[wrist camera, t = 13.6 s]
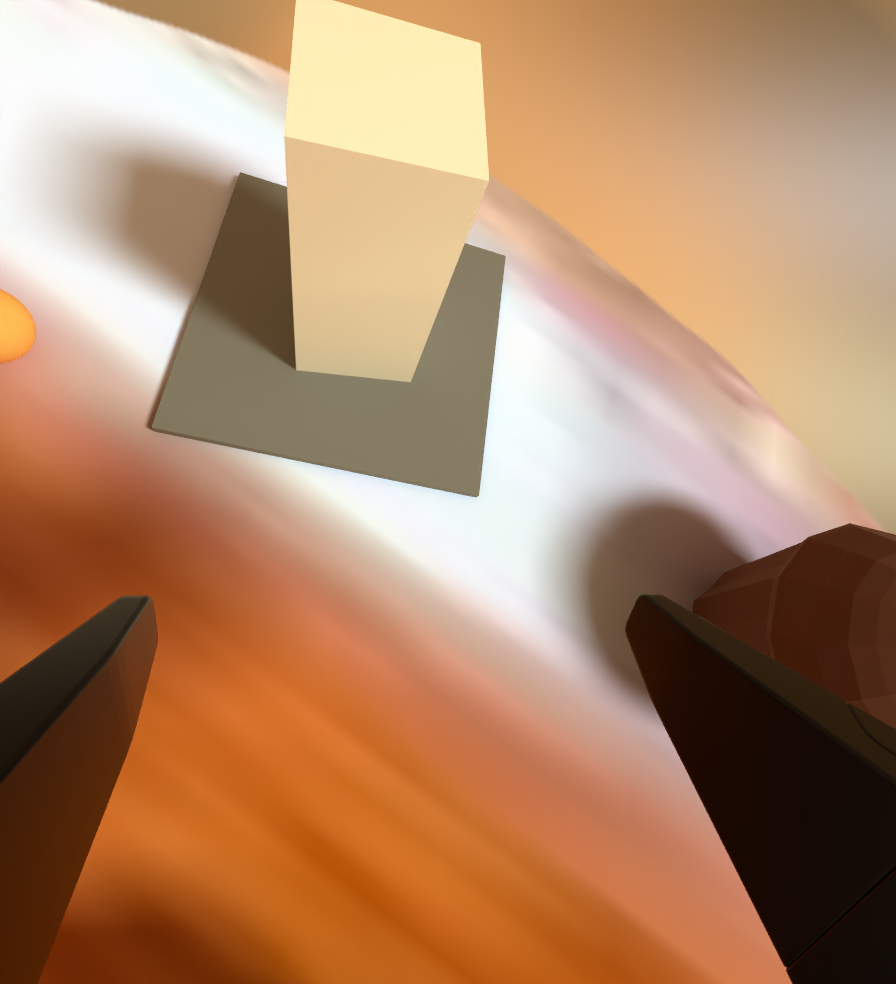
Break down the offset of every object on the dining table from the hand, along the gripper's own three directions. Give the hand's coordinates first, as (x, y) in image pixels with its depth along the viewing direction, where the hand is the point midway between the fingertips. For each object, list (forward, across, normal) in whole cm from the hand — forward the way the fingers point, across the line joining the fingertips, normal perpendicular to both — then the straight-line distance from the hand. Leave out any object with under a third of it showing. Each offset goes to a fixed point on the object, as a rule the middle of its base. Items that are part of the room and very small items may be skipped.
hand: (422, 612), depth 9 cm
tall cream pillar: (+20, 0, -1) cm, 20 cm away
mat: (+20, 0, -1) cm, 20 cm away
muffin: (+9, -21, +11) cm, 25 cm away
